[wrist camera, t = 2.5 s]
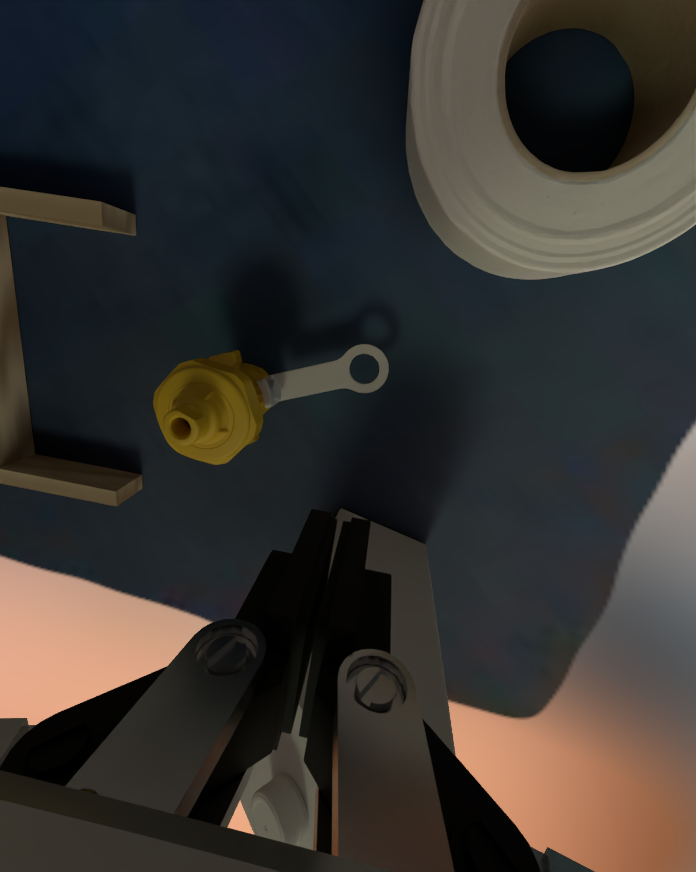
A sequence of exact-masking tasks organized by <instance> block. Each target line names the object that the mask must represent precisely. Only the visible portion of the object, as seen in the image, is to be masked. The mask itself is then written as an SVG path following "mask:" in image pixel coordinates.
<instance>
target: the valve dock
mask: <svg viewBox="0 0 696 872" xmlns="http://www.w3.org/2000/svg"><path fill="white" fill-rule="evenodd" d="M6 216H11V217H18V218H24V219H31V220H37V221H44V222H50V223H57V224H63V225H70V226H76V227H83V228H89V229H96V230H102V231H109V232H115V233H122V234H128V235H135V236H136V215H135V214H132V213H129V212H127V211H124V210H122V209H119V208H116V207H114V206H111V205H108V204H106V203H103V202H99V201H93V200H86V199H79V198H73V197H66V196H59V195H53V194H46V193H39V192H32V191H26V190H19V189H12V188H6V187H0V483H1V484H6V485H11V486H17V487H22V488H27V489H32V490H37V491H42V492H47V493H52V494H57V495H62V496H67V497H72V498H77V499H82V500H87V501H92V502H97V503H102V504H107V505H112V506H118V505H119V504H121V503H122V502H124V501H125V500H126V499H128V498H129V497H131V496H132V495H134V494H135V493H136V492H138V491H139V490H141V489H142V475H141V474H136V473H131V472H126V471H121V470H115V469H110V468H105V467H100V466H95V465H89V464H84V463H79V462H74V461H69V460H63V459H58V458H53V457H48V456H43V455H38V454H35V450H34V442H33V433H32V425H31V417H30V409H29V401H28V393H27V384H26V376H25V368H24V360H23V352H22V344H21V335H20V327H19V319H18V311H17V303H16V295H15V286H14V278H13V270H12V262H11V254H10V246H9V237H8V229H7V221H6Z"/></svg>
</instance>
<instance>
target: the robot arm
mask: <svg viewBox="0 0 696 872" xmlns="http://www.w3.org/2000/svg"><path fill="white" fill-rule="evenodd" d="M370 524H371V521H370V520H365V519H360V518H355V517H352V519H351V522H348V521H343V524H342V528H341V531H340V535H339V539H338V543H337V547H336V551H335V555H334V558H333V562H332V566H331V570H330V574H329V569H330V563H331V557H332V551H333V545H334V538H335V532H336V526H337V519H333V518H331V513H329V512H324V511H319V510H314V509H312V510H311V512H310V514H309V516H308V519H307V521H306V523H305V525H304V528H303V530H302V532H301V534H300V537H299V539H298V541H297V543H296V546H295V548H294V550H293V553H292V554H291V553H286V552H281V551H276V550H273V551H272V552H271V553H270V555H269V557H268V558H267V560H266V562H265V564H264V566H263V568H262V570H261V572H260V573H259V575H258V577H257V579H256V581H255V583H254V585H253V587H252V588H251V590H250V592H249V594H248V596H247V598H246V600H245V601H244V603H243V605H242V607H241V609H240V611H239V613H238V615H237V616H236V618H235V619H223V620H220V621H216V622H213V623H211V624H209V625H207V626H205V627H203V628H202V629H201V630H200V631H199V632H197V633H196V634H195V635H194V636H193V637H192V639H191V640H190V641H189V642H188V643H187V644H186V645H185V647H184V648H183V649H182V650H181V651H180V652H179V654H178V655H177V656H176V657H175V658H174V659H173V661H172V662H171V663H170V664H169V665H168V666H167V667H165V668H162V669H160V670H158V671H155V672H153V673H151V674H148V675H146V676H144V677H141V678H139V679H137V680H134V681H132V682H130V683H127V684H125V685H122V686H120V687H118V688H115V689H113V690H111V691H108V692H106V693H103V694H101V695H99V696H96V697H94V698H92V699H89V700H87V701H85V702H82V703H80V704H78V705H75V706H73V707H70V708H68V709H66V710H64V711H61V712H59V713H57V714H55V715H53V716H51V717H49V718H47V719H45V720H43V721H42V722H40V723H39V724H37V725H28V721H27V718H2V719H0V872H594V871H592V870H590V869H588V868H587V867H585V866H583V865H581V864H579V863H577V862H575V861H573V860H571V859H569V858H567V857H565V856H563V855H561V854H560V853H558V852H556V851H554V850H552V849H550V848H548V847H547V849H546V851H545V853H544V854H543V853H542V852H540V851H538V850H536V849H534V848H532V847H530V845H529V844H528V842H527V841H526V839H525V838H524V836H523V835H522V834H521V832H520V831H519V829H518V828H517V827H516V825H515V824H514V823H513V822H512V821H511V820H510V819H509V817H508V816H507V815H506V814H505V813H504V812H503V810H502V809H501V808H500V807H499V806H498V805H497V803H496V802H495V801H494V800H493V799H492V798H491V797H490V795H489V794H488V793H487V792H486V791H485V790H484V788H483V787H482V786H481V785H480V784H479V783H478V782H477V780H476V779H475V778H474V777H473V776H472V775H471V774H470V772H469V771H468V770H467V769H466V768H465V767H464V765H463V764H462V763H461V762H460V761H459V760H458V759H457V757H456V756H455V755H454V754H453V753H452V752H451V750H450V749H449V748H448V747H447V746H446V745H445V744H444V742H443V741H442V740H441V739H440V738H439V737H438V735H437V734H436V733H435V732H434V731H433V730H432V729H431V727H430V726H429V725H428V724H427V723H426V722H425V721H424V719H423V718H422V715H421V710H420V705H419V701H418V696H417V691H416V686H415V683H414V681H413V678H412V675H411V673H410V672H409V671H408V669H407V668H406V666H405V665H404V664H403V663H402V662H401V661H399V660H398V659H397V658H396V657H394V656H393V655H391V587H392V577H391V574H388V573H383V572H378V571H373V570H369V569H365V565H366V557H367V549H368V541H369V532H370ZM328 575H329V578H328ZM327 581H328V582H327ZM311 653H312V655H311ZM310 657H311V662H310V668H309V674H308V680H307V687H306V693H305V699H304V706H303V712H302V718H301V724H300V731H299V736H300V737H304V738H307V743H306V749H305V755H304V762H305V764H306V766H307V768H308V770H309V771H310V773H311V775H312V777H313V779H314V780H315V782H316V784H317V789H316V794H315V814H314V837H313V850H311V849H307V848H303V847H299V846H295V845H292V844H288V843H284V842H280V841H276V840H272V839H268V838H265V837H261V836H257V835H253V834H249V833H245V832H242V831H238V830H234V829H230V828H227V827H228V824H229V822H230V820H231V818H232V816H233V814H234V811H235V809H236V807H237V805H238V803H239V801H240V798H241V796H242V794H243V792H244V790H245V788H246V785H247V783H248V781H249V779H250V775H251V772H252V769H253V765H254V764H256V763H257V762H259V761H260V760H262V759H263V758H265V757H266V756H268V755H269V754H271V753H272V750H276V751H277V748H278V744H279V741H280V737H281V733H282V732H283V733H287V734H291V732H292V729H293V725H294V721H295V717H296V713H297V709H298V705H299V701H300V697H301V693H302V689H303V685H304V681H305V677H306V673H307V669H308V665H309V661H310Z"/></svg>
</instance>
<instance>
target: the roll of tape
mask: <svg viewBox="0 0 696 872" xmlns="http://www.w3.org/2000/svg"><path fill="white" fill-rule="evenodd" d="M569 28H578V29H585V30H589V31H592V32H594V33H597V34H600V35H601V36H603V37H605V38H607V39H608V40H609V41H610V42H611V43H612V44H614V45H615V46H616V48H617V49H618V51H619V52H620V54H621V55H622V57H623V59H624V60H625V61H626V63H627V65H628V67H629V70H630V73H631V77H632V81H633V87H634V109H633V116H632V121H631V125H630V128H629V131H628V134H627V137H626V140H625V142H624V145H623V147H622V148H621V150H620V152H619V154H618V155H617V157H616V159H615V160H614V161H613V162H612V164H611V165H610V166H609V168H608V169H607V170H604V171H598V172H567V171H562V170H558V169H555V168H553V167H551V166H549V165H546V164H544V163H543V162H541V161H540V160H538V159H537V158H536V157H535V156H534V155H533V154H531V153H530V152H529V151H528V150H527V148H526V147H525V146H524V145H523V144H522V142H521V141H520V139H519V138H518V136H517V134H516V132H515V130H514V128H513V126H512V123H511V120H510V117H509V114H508V109H507V104H506V97H505V69H506V63H507V61H508V60H509V59H510V58H511V57H512V56H513V55H514V54H515V53H516V52H517V51H518V50H520V49H521V48H522V47H523V46H524V45H526V44H527V43H529V42H530V41H532V40H533V39H535V38H537V37H539V36H541V35H544V34H546V33H549V32H552V31H556V30H560V29H569ZM406 155H407V161H408V169H409V174H410V178H411V182H412V185H413V189H414V193H415V196H416V198H417V200H418V203H419V205H420V207H421V209H422V212H423V213H424V215H425V217H426V219H427V221H428V223H429V225H430V226H431V228H432V229H433V230H434V231H435V233H436V234H437V235H438V236H439V237H440V239H441V240H442V241H443V242H444V244H445V245H446V246H447V247H448V248H449V249H450V250H452V251H453V252H454V253H455V254H456V255H457V256H459V257H461V258H462V259H464V260H465V261H467V262H469V263H470V264H472V265H473V266H475V267H477V268H479V269H482V270H484V271H486V272H489V273H491V274H495V275H498V276H503V277H508V278H515V279H546V278H554V277H560V276H565V275H571V274H576V273H582V272H587V271H593V270H598V269H602V268H606V267H610V266H614V265H618V264H621V263H624V262H627V261H630V260H633V259H635V258H637V257H640V256H642V255H644V254H647V253H649V252H651V251H653V250H655V249H657V248H659V247H661V246H662V245H664V244H666V243H668V242H669V241H671V240H673V239H675V238H676V237H678V236H680V235H681V234H683V233H684V232H686V231H687V230H689V229H690V228H691V227H693V226H694V225H695V224H696V0H423V4H422V7H421V11H420V14H419V18H418V21H417V25H416V29H415V32H414V36H413V42H412V50H411V61H410V75H409V89H408V104H407V117H406Z"/></svg>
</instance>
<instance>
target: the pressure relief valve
mask: <svg viewBox="0 0 696 872" xmlns="http://www.w3.org/2000/svg"><path fill="white" fill-rule="evenodd" d="M360 354H369V355H371V356H373V357H374V358H375V359H376V360H377V361H378V364H379V374H378V377H377V378H376V379H375V380H374V381H372V382H371V383H367V384H362V383H358V382H357V381H355V380H354V379H353V378H352V376H351V375H350V370H349V367H350V363H351V361H352V359H353V358H354V357H355V356H357V355H360ZM242 362H243V361H242V358H241V355H240V351H239V350H236V351H232V352H228V353H224V354H219V355H215V356H211V357H209V360H208V359H205V358H199V359H194V360H191V361H187V362H183V363H180V364H179V365H178V366H177V367H176V368H175V369H174V370H173V371H172V372H171V373H170V374H169V375H168V377H167V378H166V379H165V380H164V381H163V382H162V383H161V385H160V386H159V387H158V388H157V390H156V391H155V394H154V400H153V405H154V409H155V413H156V416H157V420H158V423H159V426H160V428H161V430H162V432H163V434H164V437H165V438H166V440H167V442H168V444H169V445H170V446H171V447H172V448H173V449H174V450H175V451H177V452H178V453H180V454H183V455H185V456H188V457H190V458H193V459H196V460H199V461H203V462H206V463H210V464H214V465H218V464H224V463H227V462H228V461H230V460H231V459H232V458H233V457H234V456H235V455H236V454H237V453H238V452H239V451H240V450H241V449H242V448H244V447H245V446H246V445H248V444H250V443H253V442H255V441H256V440H258V439H259V432H260V431H261V428H262V424H263V416H262V415H263V414H264V413H265V412H266V411H267V410H268V409H269V408H270V407H273V406H274V405H275V404H277V403H278V402H279V401H283V400H288V399H292V398H297V397H302V396H307V395H312V394H316V393H321V392H326V391H331V390H336V389H341V388H347V389H351V390H353V391H356V392H359V393H370V392H373V391H375V390H377V389H379V388H380V387H381V386H382V385H383V384H384V382H385V381H386V379H387V376H388V372H389V367H388V361H387V358H386V356H385V355H384V354H383V352H382V351H381V350H380V349H378V348H377V347H375V346H372V345H370V344H361V345H356V346H354V347H352V348H351V349H349V350H348V351H347V352H346V353H345V354H344V356H343V357H341V358H340V359H338V360H336V361H332V362H327V363H323V364H318V365H314V366H309V367H305V368H300V369H296V370H291V371H287V372H282V373H278V374H273V375H268V373H267V372H266V371H265V370H263V369H262V368H260V367H257V366H255V365H251V364H248V363H242Z"/></svg>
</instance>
